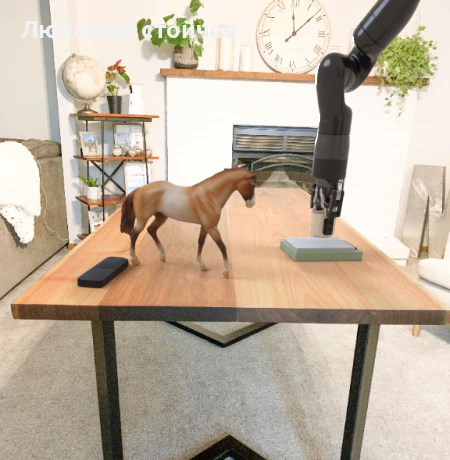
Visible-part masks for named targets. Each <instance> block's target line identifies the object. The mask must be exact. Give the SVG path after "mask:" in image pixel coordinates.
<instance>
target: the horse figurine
mask: <svg viewBox="0 0 450 460" xmlns="http://www.w3.org/2000/svg"><path fill="white" fill-rule="evenodd" d="M260 173H261V170H260V169H257V170H253V171H251V170H249V169H247V168H245V167H239V166H236V167H231V168H226V169H223V170H221V171H218V172H215V173H214V174H213V175H211V176H209V177H206V178H205V179H203V180H201V181H199V182H197V183H195V184H193V185H191V186H182V185H178V184H175V183H173V182H171V181H169V180H156V181H155V180H154V181H151V182H149V183H147V184H144V185H143V186H140V187H136V188H135V189H133V190H132V191H130V192H129V193H128V194H127V195H126V196H125V198H124V200H123V202H122V204H121V208H120V211H121V212H120V213H121V215H120V224H119V232H120V234H127V235H128V236H129V239H130V244H129V245H130V248H129V251H128V254H129V255H130V257H131V259H130V263H131V264H132V265H134V266H140V265H141V263H142V262H141V261H140V259H139V258H138V256H137V254H136V242H137V241H138V238H139V236H140V234H141V233H142V232H143V231H144V230H145V228H146V232H147V233H148V234H149V236H150V237H151V238H152V240H153V242H154V244H155V245H156V248H157V251H158V252H160V253H159V256H158V259H159V260H160V261H161V262H162V263H164V264H165V263H166V261H167V254H166V250H165V247H164V246H163V244H162V243H161V241H160V239H159V237H158V234H157V232H158V230H159V228H160V227H162V226H163V225H164V224H166V223H167V220H168V219H172V220H175V221H178V222H183V223H189V224H194V225H199V226H200V231H199V235H198V238H197V252H196V256H195V260H196V261H197V262H198V263H199V268H200V270H201V271H205V272H206V271H209V270H210V268H209V266H208V265H207V263H205V261H204V260H203V258H202V252H203V248H204V246H205V242H206V238H207V237H208V235H209V237H210V238H211V239H212V240H213V242H214V243H215V245H216V246H217V247H218V249H219V251H220V253H221V255H222V260H223V266H224V268H223V269H222V273H221V274H222V276H223V277H224V278H225V279H229V278H230V265H231V264H230V260H229V257H228V251H227V246H226V244H225V243H224V241H223V240H222V236H221V233H220V230H219V228H218V225H219V222H220V220H221V215H222V210H223V208H224V207H225V206H226V204H227V202H228V200H229V199H230V198H231V197H232V195H233V194H234V193H235V192H236V191H237V193H239V195H240V196H241V197H242V199H243V201H244V202H245V203H244V204H245V207H246V208H248V209H252V208H253V207H254V206H255V205H256V185H257V175H259V174H260ZM152 217H154V219H153V220H152V222H151V223H149V225H148V226H147V223H148V221H149V220H150V219H151V218H152ZM135 222H136V223H135ZM146 226H147V227H146Z"/></svg>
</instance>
